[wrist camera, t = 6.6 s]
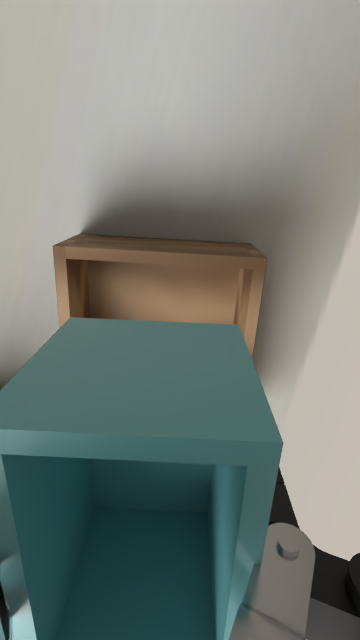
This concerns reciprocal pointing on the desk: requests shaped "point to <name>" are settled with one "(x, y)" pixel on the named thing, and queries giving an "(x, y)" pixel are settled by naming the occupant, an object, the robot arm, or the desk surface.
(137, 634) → the small teal crate
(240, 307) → the walnut crate
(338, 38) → the desk surface
